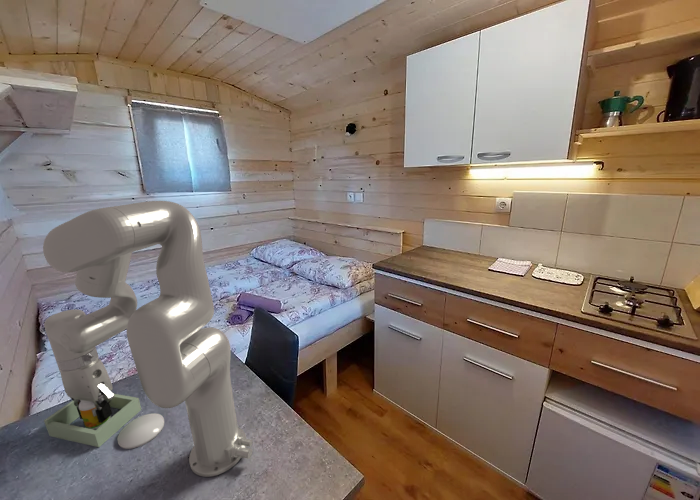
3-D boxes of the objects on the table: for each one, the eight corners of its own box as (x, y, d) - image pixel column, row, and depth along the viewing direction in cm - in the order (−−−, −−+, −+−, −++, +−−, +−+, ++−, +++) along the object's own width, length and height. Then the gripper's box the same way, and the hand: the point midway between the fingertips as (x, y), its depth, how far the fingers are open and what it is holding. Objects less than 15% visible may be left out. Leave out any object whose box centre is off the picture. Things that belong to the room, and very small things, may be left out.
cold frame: (141, 409, 85) (137, 395, 83) (99, 447, 74) (93, 431, 72) (96, 401, 88) (92, 387, 87) (49, 436, 77) (43, 420, 76)
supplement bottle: (81, 426, 80) (71, 395, 77) (105, 411, 84) (96, 382, 82) (91, 433, 77) (81, 402, 75) (115, 418, 82) (106, 388, 79)
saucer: (173, 418, 81) (172, 416, 81) (141, 452, 72) (140, 449, 72) (142, 413, 84) (142, 410, 83) (107, 444, 74) (107, 442, 74)
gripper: (119, 353, 77) (135, 410, 82) (68, 346, 81) (86, 401, 86) (89, 372, 70) (108, 433, 75) (34, 363, 74) (56, 423, 79)
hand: (96, 416), depth 80 cm, fingers closed on supplement bottle, 5 cm apart
